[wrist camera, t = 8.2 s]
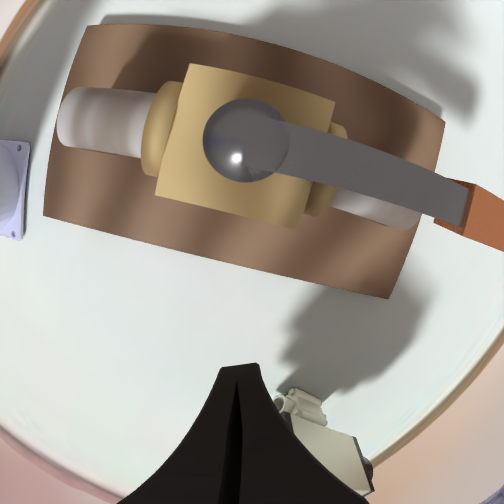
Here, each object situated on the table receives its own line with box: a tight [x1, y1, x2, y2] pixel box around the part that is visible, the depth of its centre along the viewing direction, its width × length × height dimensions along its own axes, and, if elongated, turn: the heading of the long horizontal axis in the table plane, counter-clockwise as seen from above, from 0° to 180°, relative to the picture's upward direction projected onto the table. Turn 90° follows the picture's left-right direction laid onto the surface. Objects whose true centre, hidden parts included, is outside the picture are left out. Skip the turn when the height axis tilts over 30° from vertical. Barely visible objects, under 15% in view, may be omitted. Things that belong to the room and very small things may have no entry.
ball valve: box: [43, 24, 445, 299], centre depth 13 cm, size 26×14×7 cm, turn 75°
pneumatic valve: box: [272, 388, 375, 497], centre depth 19 cm, size 6×12×12 cm, turn 51°
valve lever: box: [203, 98, 504, 252], centre depth 10 cm, size 15×3×2 cm, turn 78°
